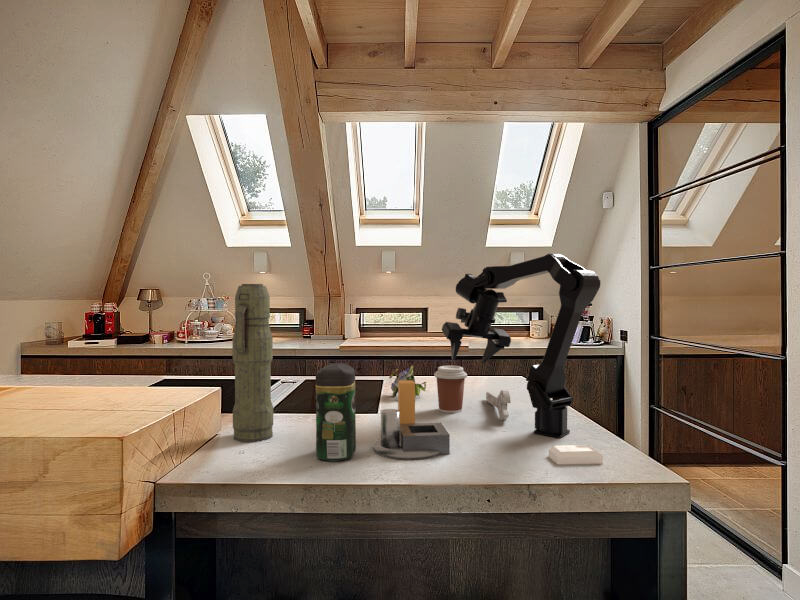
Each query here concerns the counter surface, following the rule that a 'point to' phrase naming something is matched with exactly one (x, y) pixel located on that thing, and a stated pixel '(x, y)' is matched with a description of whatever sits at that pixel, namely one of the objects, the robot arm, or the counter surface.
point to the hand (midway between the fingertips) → (467, 361)
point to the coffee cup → (450, 388)
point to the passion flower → (405, 375)
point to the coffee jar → (335, 412)
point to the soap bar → (575, 454)
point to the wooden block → (406, 401)
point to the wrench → (500, 402)
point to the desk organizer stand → (410, 438)
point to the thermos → (252, 364)
